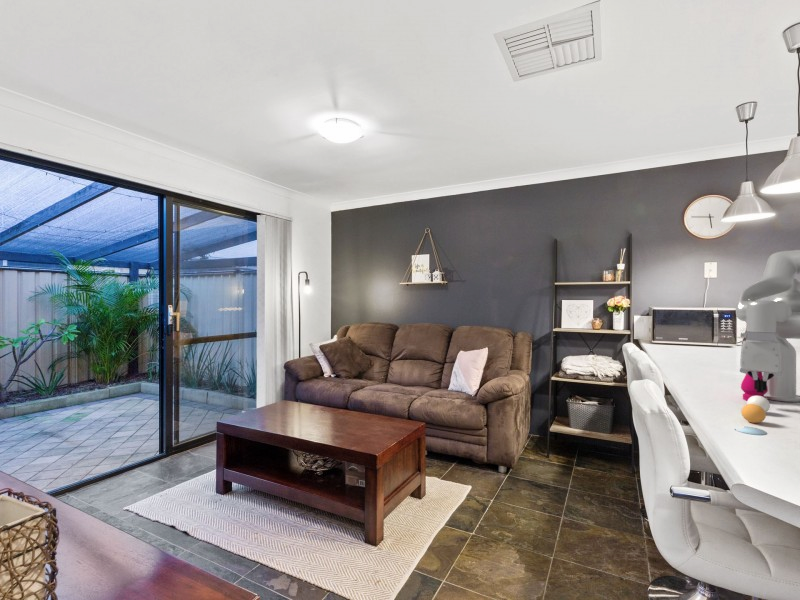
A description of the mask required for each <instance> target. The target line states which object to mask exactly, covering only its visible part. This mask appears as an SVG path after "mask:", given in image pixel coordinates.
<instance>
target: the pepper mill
mask: <svg viewBox="0 0 800 600" xmlns="http://www.w3.org/2000/svg"><path fill="white" fill-rule="evenodd" d="M758 377H759V378H760V380H761V379H762V378H763V376H762V372H758ZM740 388H741V391H742V392H743V394H742V400H744V401H746V402H747V401H748V399H749V398H750V397H752V396H762V397H764V398H766V397H765V396H764V394H766V393H767V391H768V388H767V391H765V390H764V393H761V392H759V393H758V392H757V389H754V379H753V378H752V377H751V376H749V375H748V374H745V375H744V378H743V380H742V381H741V384H740Z"/></svg>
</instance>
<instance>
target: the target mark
mask: <svg viewBox="0 0 800 600" xmlns="http://www.w3.org/2000/svg"><path fill="white" fill-rule="evenodd" d="M743 426H744V428H742V430H738V431H737V432H739V431H741V432H740V433H743V432H744V433H743V434H747V433H748V434H749V435H756V436H763V435H766V434H767V432H766V431H765V430H763V429H761V428H757V427H753V426H747V425H743ZM736 430H737V429H736ZM736 430H735V431H736Z"/></svg>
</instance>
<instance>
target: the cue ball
mask: <svg viewBox="0 0 800 600" xmlns="http://www.w3.org/2000/svg"><path fill="white" fill-rule="evenodd" d="M746 403H747V404H756V405H758V406H760V407H762V408H763V409H764V411H765V413H767V412H768V411H769V410H770V409H771V404H770V400H769V399H766V398H764V397H762V396H752V397H750V398H749V399H748V401H747V400H746ZM747 404H746V405H747Z"/></svg>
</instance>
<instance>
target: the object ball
mask: <svg viewBox="0 0 800 600" xmlns="http://www.w3.org/2000/svg"><path fill="white" fill-rule="evenodd" d="M740 412H741V416H742V418H743V419H744V420H745V421H747V422H750V423H753V424H759V423H761V422H762V423H763V421H764V420H766V417H767V412H765V411H764V409H763V408H762V407H760V406H758V405H756V404H745V405H744V406H743V407H742V408H741V411H740Z"/></svg>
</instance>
